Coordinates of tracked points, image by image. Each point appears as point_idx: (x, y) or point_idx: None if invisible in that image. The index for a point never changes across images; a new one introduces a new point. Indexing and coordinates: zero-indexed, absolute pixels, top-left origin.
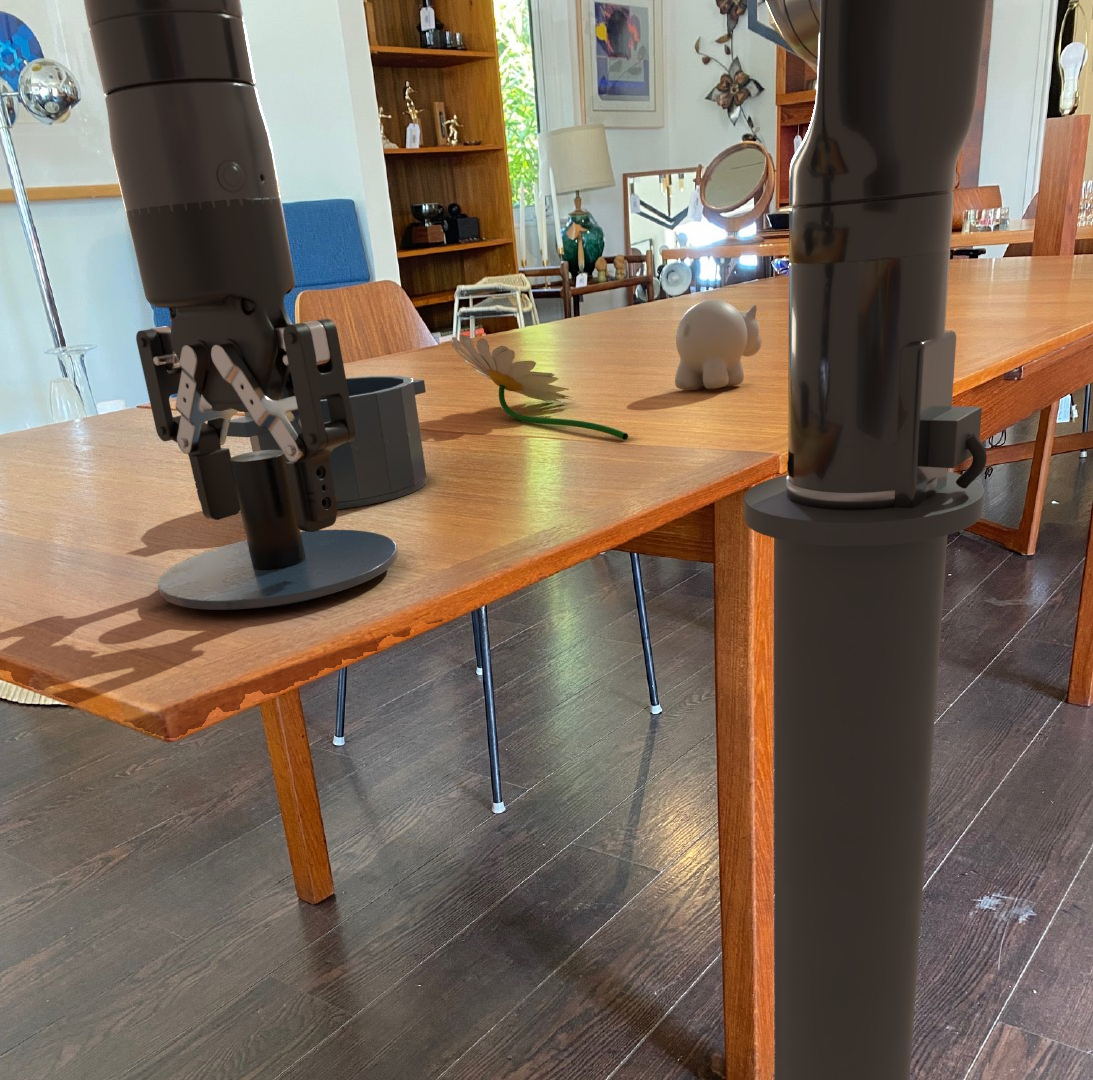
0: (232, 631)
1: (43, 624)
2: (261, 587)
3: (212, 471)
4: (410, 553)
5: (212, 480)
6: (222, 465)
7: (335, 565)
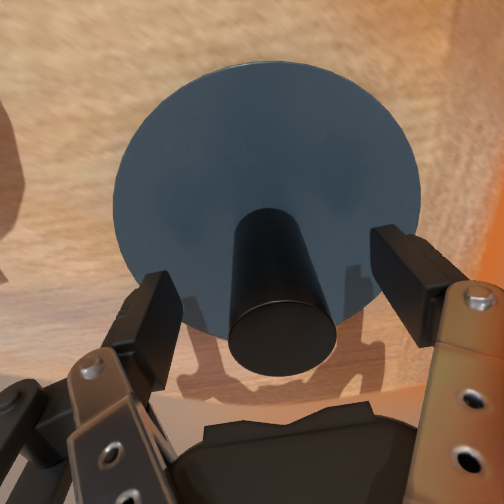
0: (361, 315)
1: (192, 385)
2: (339, 289)
3: (163, 347)
4: (323, 33)
5: (168, 339)
6: (151, 335)
7: (355, 204)
